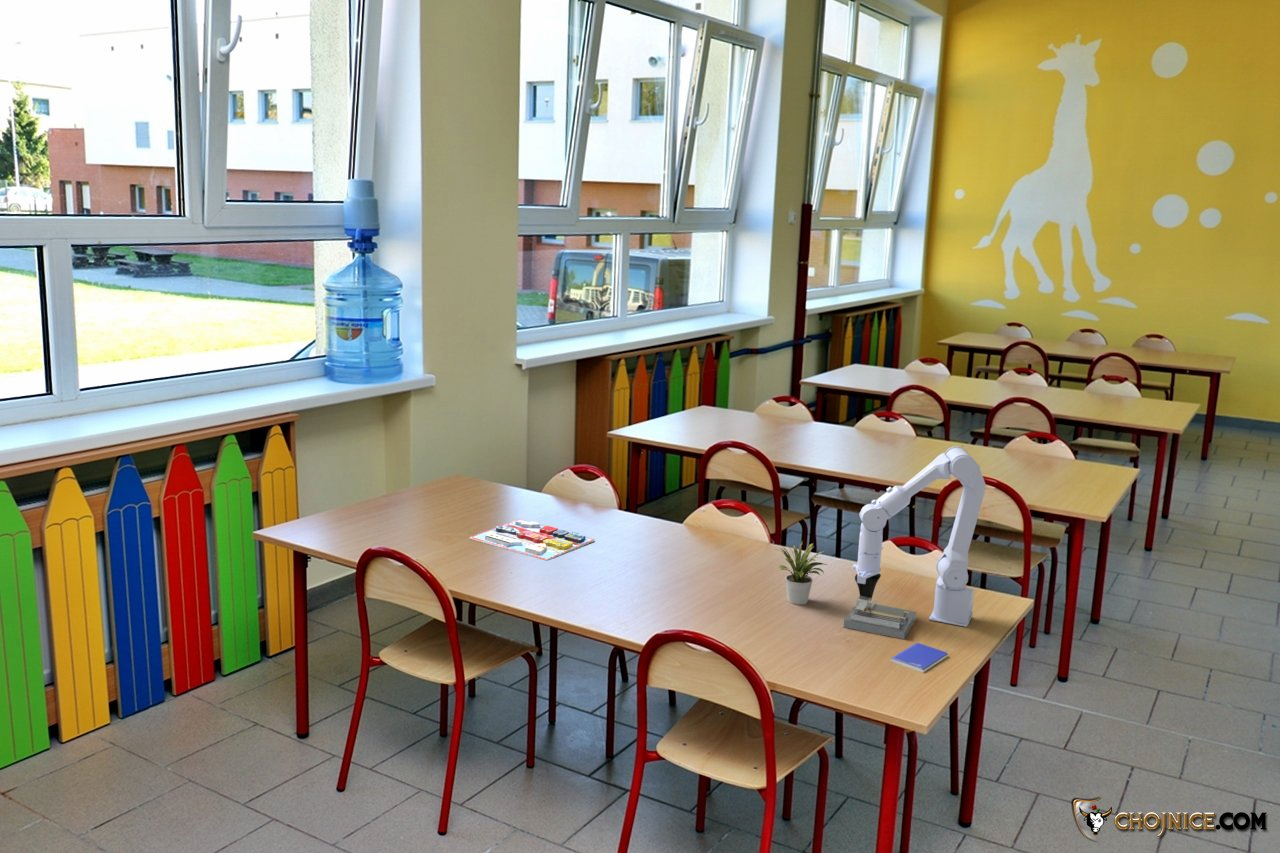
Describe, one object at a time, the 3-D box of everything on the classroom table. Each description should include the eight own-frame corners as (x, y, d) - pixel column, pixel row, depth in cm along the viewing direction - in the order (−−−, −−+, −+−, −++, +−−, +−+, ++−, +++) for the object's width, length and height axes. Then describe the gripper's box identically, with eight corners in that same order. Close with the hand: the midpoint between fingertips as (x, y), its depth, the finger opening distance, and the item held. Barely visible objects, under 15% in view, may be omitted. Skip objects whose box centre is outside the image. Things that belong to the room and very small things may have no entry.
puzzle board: (468, 541, 330) (468, 532, 330) (518, 523, 349) (519, 515, 348) (547, 563, 313) (547, 554, 313) (595, 543, 332) (595, 535, 331)
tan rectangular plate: (903, 619, 273) (903, 617, 273) (900, 623, 271) (900, 620, 271) (859, 610, 278) (859, 608, 278) (856, 614, 275) (857, 612, 275)
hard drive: (923, 668, 248) (948, 652, 257) (890, 657, 253) (916, 642, 262) (922, 674, 248) (947, 658, 257) (890, 663, 253) (915, 648, 262)
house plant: (778, 613, 279) (782, 553, 276) (758, 594, 292) (762, 536, 289) (830, 609, 283) (834, 549, 280) (808, 590, 296) (812, 533, 293)
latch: (869, 609, 279) (870, 597, 278) (864, 616, 274) (865, 604, 274) (858, 607, 280) (859, 595, 280) (853, 614, 275) (854, 602, 275)
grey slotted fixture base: (916, 618, 279) (917, 604, 278) (903, 639, 266) (905, 624, 265) (858, 607, 285) (859, 593, 284) (843, 627, 272) (844, 612, 271)
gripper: (861, 540, 286) (857, 589, 289) (846, 556, 273) (843, 608, 276) (888, 545, 283) (884, 594, 286) (874, 561, 270) (870, 613, 273)
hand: (865, 601), depth 281 cm, fingers closed
